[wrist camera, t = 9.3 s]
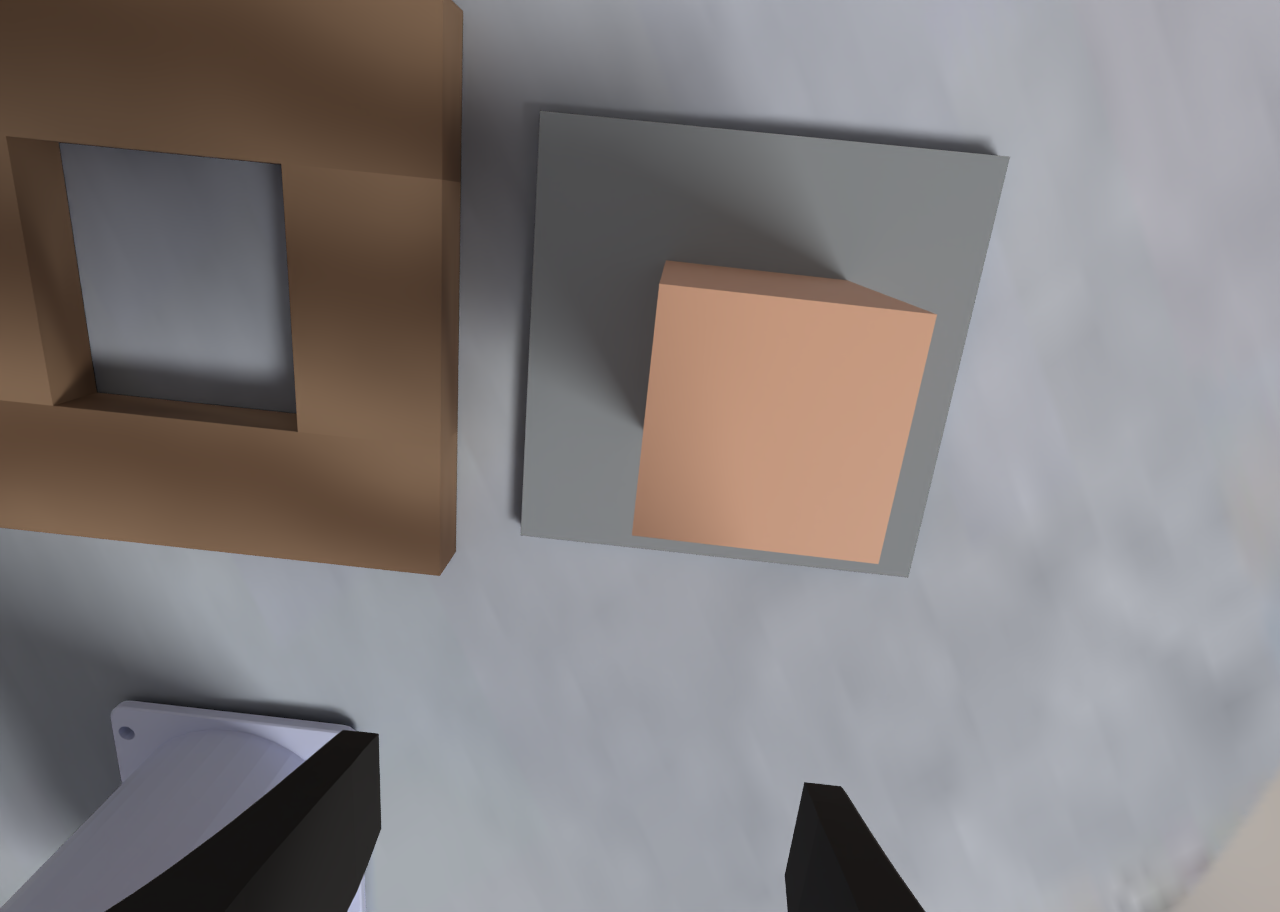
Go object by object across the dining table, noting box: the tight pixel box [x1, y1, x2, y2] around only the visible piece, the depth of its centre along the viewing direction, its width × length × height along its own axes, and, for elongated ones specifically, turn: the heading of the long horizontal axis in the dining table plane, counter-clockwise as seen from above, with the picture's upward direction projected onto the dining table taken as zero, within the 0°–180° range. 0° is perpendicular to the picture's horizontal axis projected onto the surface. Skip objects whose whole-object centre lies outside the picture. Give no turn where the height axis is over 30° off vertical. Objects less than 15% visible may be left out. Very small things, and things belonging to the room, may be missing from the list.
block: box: [632, 260, 937, 564], centre depth 15 cm, size 4×4×6 cm
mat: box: [521, 111, 1010, 577], centre depth 19 cm, size 11×11×1 cm
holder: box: [0, 0, 463, 576], centre depth 18 cm, size 14×14×2 cm
